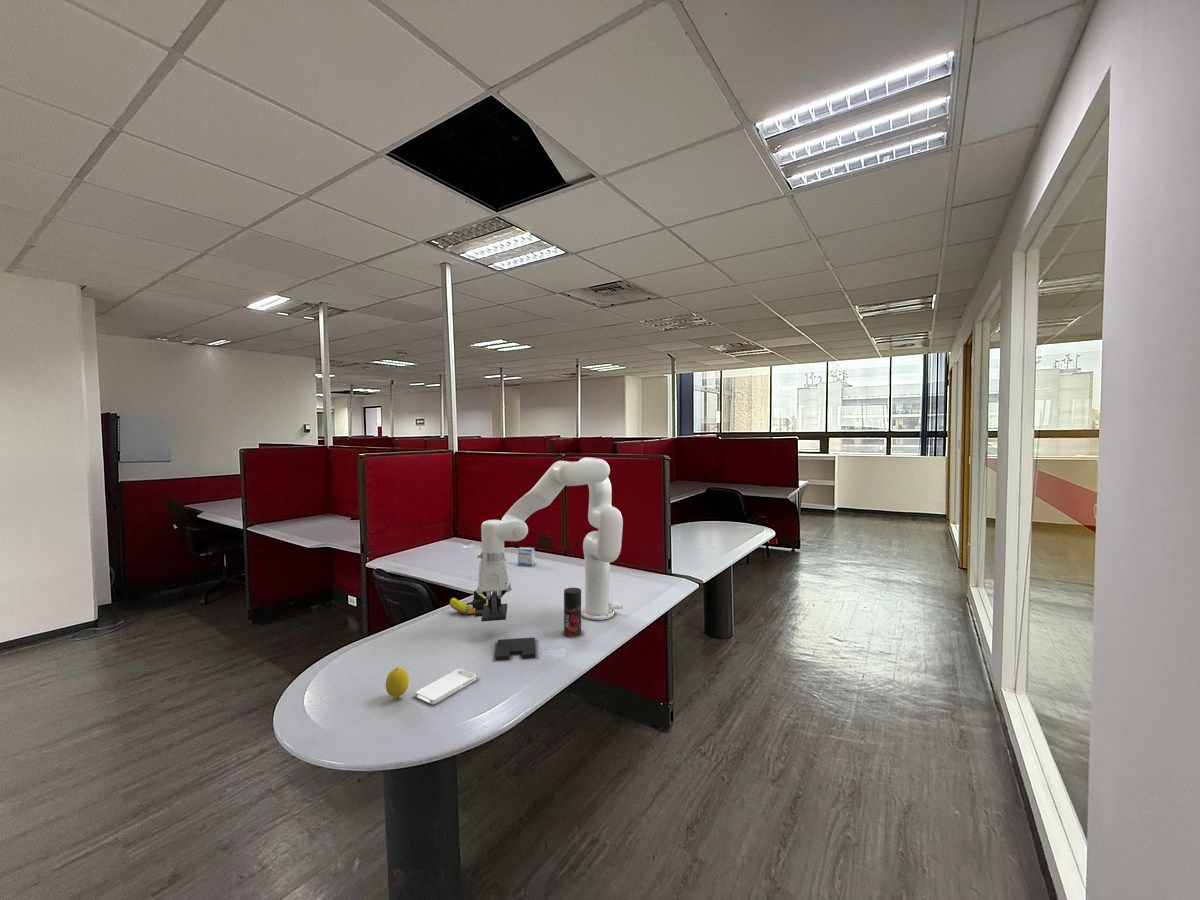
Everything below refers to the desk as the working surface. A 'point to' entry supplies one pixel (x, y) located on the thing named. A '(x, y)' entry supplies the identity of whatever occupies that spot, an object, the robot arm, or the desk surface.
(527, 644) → the base pad
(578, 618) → the deodorant
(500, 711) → the desk surface
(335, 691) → the desk surface
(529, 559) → the blue and white box
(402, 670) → the lemon
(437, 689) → the phone case
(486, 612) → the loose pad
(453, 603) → the gaming controller
